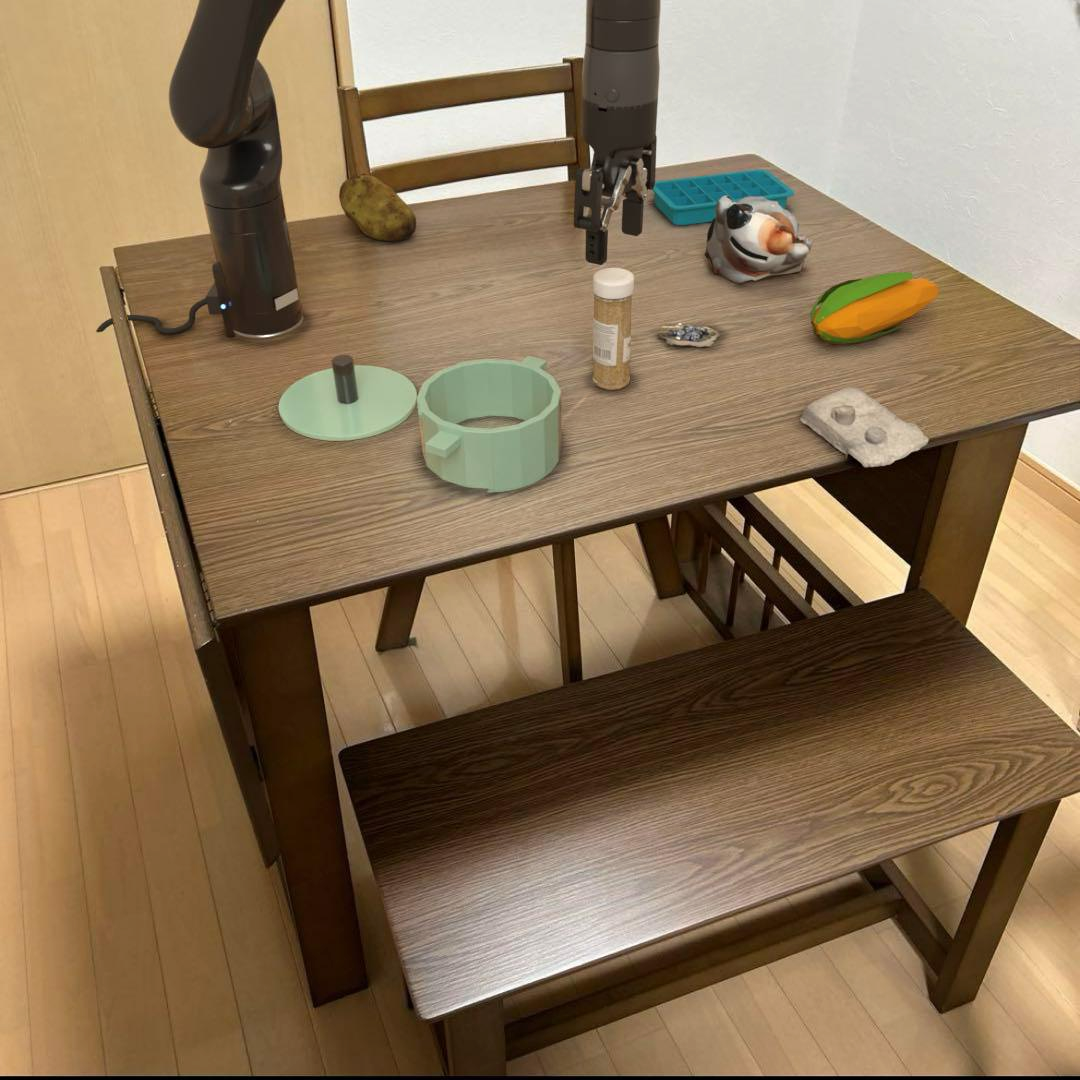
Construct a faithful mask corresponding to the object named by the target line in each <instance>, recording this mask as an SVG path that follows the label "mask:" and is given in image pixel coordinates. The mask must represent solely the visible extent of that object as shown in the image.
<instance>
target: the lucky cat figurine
mask: <svg viewBox="0 0 1080 1080" xmlns="http://www.w3.org/2000/svg"><path fill="white" fill-rule="evenodd" d="M715 212H716V217H715V218H714V219H713V220H712V221H711V223H710V225H709V227H708V230H707V234H706V246H705V247H706V248H705V252H704V254H703V256H704V257H705V258H706V259H707V260H708V261H709V264H710V265H711V269H712V273H714V274H716V275H719V276H721V277H723V278H725V279H727V280H730V281H732V282H733V283H736V284H743V283H745V282H747V281H752V280H753V281H758V280H760V279H763V278H766V277H772V276H780V275H788V274H792V273H800V272H801V271H802V270H803V269H804V263H805V259H806V258H807V255H808V254H809V253H810V251H811V249H812V245H813V240H812V239H811V240H810V239H809V238H808V236H807V235H801V234H799V229H800V227H799V226H800V224H799V222H798V220H797V218H796V217H795V216H794V214H793V213H792V212H790V211H789V210H788V209H787V208H785V209H783V208H782V207H781V206H780V203H779V202H777V201H770V200H768V199H766V198H764V197H759V196H748V197H744V198H741V199H740V200H738V201H737V202H734V201H732V200H731V199H730V197H729V196H728V195H725V196H723V197H721V198H720V199H718V201H717V205H716V208H715Z"/></svg>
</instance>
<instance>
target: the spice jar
mask: <svg viewBox="0 0 1080 1080" xmlns="http://www.w3.org/2000/svg"><path fill="white" fill-rule="evenodd" d="M634 291H635V275H634V274H633V272H631V271H630V270H628V269H626V268H623V267H622V268H621V267H605V268H602V269H599V270H597V271H596V272H595V273H594V274H593V276H592V292H593V315H592V317H593V318H592V319H593V320H592V359H593V364H592V366H593V367H592V377H591V379H592V381H593V382H594V383H595V386H596V387H598V388H599V389H602V390H609V391H615V390H620V389H623V388H625V387H626V386H628V385H629V384H630V382H631V374H630V368H631V367H630V362H631V353H632V352H631V348H632V347H631V346H632V305H633V304H632V300H633V299H632V298H633V294H634Z"/></svg>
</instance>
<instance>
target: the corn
mask: <svg viewBox="0 0 1080 1080" xmlns="http://www.w3.org/2000/svg"><path fill="white" fill-rule="evenodd" d="M913 277H914V273H913V272H909V271H908V272H907V271H905V272H903V271H901V272H900V271H899V272H898V271H897V272H885V273H881V274H876V275H872V276H867V277H865V278H857V279H848V280H846V281H843V282H841V283H838V284H835V285H833V286H830V287H829V288H828V289H826V291H824V292H823V293H822V294H820V296H819V297H818V298H817V300H816V301H815V303H814V305H813V306H812V308H811V310H810V314H809V316H810V324H811V327H812V331H813V334H814V335H815V336H817V337H819V338H820V339H821V340H822V341H825V342H827V343H829V344H833V345H834V344H838V345H839V344H853V343H860V342H865V341H869V340H872V339H876V338H878V337H881V336H885V335H888V334H890V333H892V332H894V331H896V330H899V329H901V328H904V327H906V326H907V325H908V323H904V324H902V325H900V326H896V325H898V324H900V323H902V322H904V321H905V320H907V319H908V318H911V317H912V316H914V315H915V314H917V313H918V312H919V311H921V310H922V309H923V308H925V307H926V306H928V305H929V304H930V303H932V302H933V301H935V300H936V299H937V298H938V296H939V289H940V286H939V285H937V284H936V283H934V282H932V281H931V280H929V279H927V278H924V277H923V278H913ZM818 305H819V306H818ZM817 306H818V307H817ZM895 326H896V327H895ZM882 331H883V332H882Z"/></svg>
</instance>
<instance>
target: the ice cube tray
mask: <svg viewBox="0 0 1080 1080" xmlns="http://www.w3.org/2000/svg"><path fill="white" fill-rule="evenodd" d="M651 192H653V198H654V200H653V201H654V205H655V206H656V208H657V209H659V211H660V212H661V213H663V215H665V216H666V218H667V219H668V220H669V221H670V222H671V223H672V224H673V225H676V226H686V225H694V224H702V223H709V222H711V223H712V220H713V219H714V218H715V217H716V212H715V208H716V205H717V201H718V199H720V198H721V197H723V196H725V195H728V196H729V197H730V199H731V200H732V201H734V202H737V201H738V200H740V199H741V198H744V197H748V196H759V197H764V198H766V199H768V200H770V201H777V202H779V203H780V206H781V207H782V208H783V209H786V205H787V201H788V198H791V197H793V196H794V195H795V194H794V193H795V190H793V189H791V187H789V186H788V185H787V184H786V183H785V182H783V181H782V180H780V179H779V178H778V177H776V176H775V175H774V174H773V173H771V172H770V171H769V170H767V169H762V168H761V169H760V168H757V169H748V170H739V171H730V172H723V173H715V174H707V175H698V176H697V175H696V176H690V177H681V178H680V177H679V178H672V179H665V180H663V179H662V180H655V186H654V188H653V190H651Z"/></svg>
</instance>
